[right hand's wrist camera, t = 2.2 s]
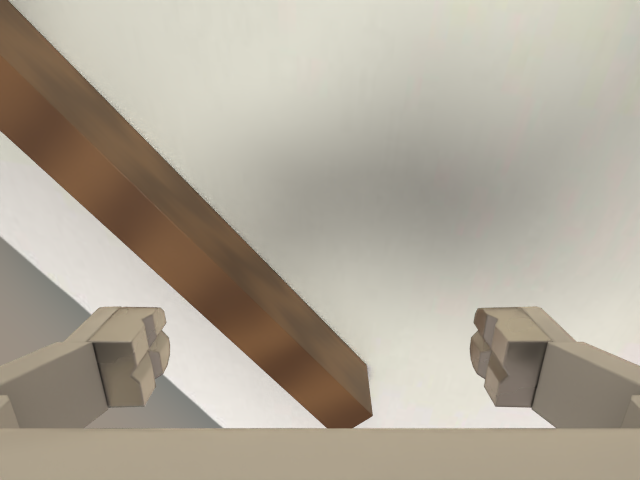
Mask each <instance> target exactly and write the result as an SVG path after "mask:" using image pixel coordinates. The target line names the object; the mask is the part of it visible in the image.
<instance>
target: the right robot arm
mask: <svg viewBox="0 0 640 480" xmlns="http://www.w3.org/2000/svg"><path fill="white" fill-rule="evenodd" d="M165 324H166V318H165V313H164V311H163V310H162V309H161V308H155V307H100V308H98V309H97V310H96V311H95V312H94V313H93V314H92V315H91V316H90V317H89V318H88V319H87V320H86V321H85V322H84V323H83V324H82V325H80V326H79V327H78V328H77V329H76V330H75V331H74V332H73V333H72V334H71V335H70V336H69V337H68V338H67V339H66V340H65V341H64V342H56V343H53V344H51V345H48V346H46V347H44V348H41V349H39V350H37V351H34V352H32V353H30V354H27V355H25V356H23V357H20V358H18V359H16V360H13V361H11V362H8V363H6V364H4V365H2V366H0V480H640V366H638V365H636V364H634V363H631V362H629V361H627V360H624V359H622V358H620V357H617V356H615V355H613V354H610V353H608V352H606V351H603V350H601V349H599V348H596V347H594V346H592V345H589V344H587V343H584V342H576V341H575V340H574V339H573V338H572V337H571V336H570V335H569V334H568V333H567V332H566V331H565V330H564V329H563V328H562V327H561V326H560V325H559V324H557V323H556V322H555V321H554V320H553V319H552V318H551V317H550V316H549V315H548V314H547V313H546V312H545V311H544V310H543V309H542V308H539V307H536V306H534V307H499V308H478V309H477V311H476V313H475V317H474V324H475V326H476V327H477V329H478V331H477V332H476V333H475V334H474V335H473V336H472V337H471V343H470V356H471V361H472V365H473V367H474V369H475V371H476V373H477V374H478V375H479V376H481V377H482V378H484V379H485V384H484V387H485V389H486V391H487V393H488V394H489V396H490V398H491V400H492V401H493V403H494V405H495V407H530V408H532V410H533V411H535V412H536V413H537V414H539V415H540V416H541V417H543V418H544V419H545V420H546V421H548V422H549V423H550V424H552V425H553V426H554V427H556V428H85V427H86V426H87V425H88V424H90V423H91V422H92V421H94V420H95V419H96V418H98V417H99V416H100V415H102V414H103V413H104V412H105V411H107V410H108V408H110V407H144V406H145V405H146V403H147V401H148V400H149V398H150V396H151V394H152V392H153V391H154V389H155V387H156V384H155V379H156V378H158V377H159V376H161V375H162V374H163V373H164V371H165V369H166V367H167V365H168V361H169V356H170V342H169V337H168V336H167V335H166V334H165V333H164V332H163V331H162V329H163V327H164V326H165Z"/></svg>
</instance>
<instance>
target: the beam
mask: <svg viewBox="0 0 640 480" xmlns="http://www.w3.org/2000/svg"><path fill="white" fill-rule="evenodd" d="M0 131H1V132H2V133H3V134H5V135H6V136H7V137H8V138H9V139H10V140H11V141H12V142H13V143H14V144H16V145H17V146H18V147H19V148H20V149H21V150H22V151H23V152H24V153H25V154H27V155H28V156H29V157H30V158H31V159H32V160H33V161H34V162H35V163H36V164H37V165H39V166H40V167H41V168H42V169H43V170H44V171H45V172H46V173H47V174H48V175H50V176H51V177H52V178H53V179H54V180H55V181H56V182H57V183H58V184H59V185H61V186H62V187H63V188H64V189H65V190H66V191H67V192H68V193H69V194H70V195H72V196H73V197H74V198H75V199H76V200H77V201H78V202H79V203H80V204H81V205H83V206H84V207H85V208H86V209H87V210H88V211H89V212H90V213H91V214H92V215H94V216H95V217H96V218H97V219H98V220H99V221H100V222H101V223H102V224H103V225H104V226H106V227H107V228H108V229H109V230H110V231H111V232H112V233H113V234H114V235H115V236H117V237H118V238H119V239H120V240H121V241H122V242H123V243H124V244H125V245H126V246H128V247H129V248H130V249H131V250H132V251H133V252H134V253H135V254H136V255H137V256H139V257H140V258H141V259H142V260H143V261H144V262H145V263H146V264H147V265H148V266H150V267H151V268H152V269H153V270H154V271H155V272H156V273H157V274H158V275H159V276H160V277H162V278H163V279H164V280H165V281H166V282H167V283H168V284H169V285H170V286H171V287H173V288H174V289H175V290H176V291H177V292H178V293H179V294H180V295H181V296H182V297H184V298H185V299H186V300H187V301H188V302H189V303H190V304H191V305H192V306H193V307H195V308H196V309H197V310H198V311H199V312H200V313H201V314H202V315H203V316H204V317H206V318H207V319H208V320H209V321H210V322H211V323H212V324H213V325H214V326H215V327H216V328H218V329H219V330H220V331H221V332H222V333H223V334H224V335H225V336H226V337H227V338H229V339H230V340H231V341H232V342H233V343H234V344H235V345H236V346H237V347H238V348H240V349H241V350H242V351H243V352H244V353H245V354H246V355H247V356H248V357H249V358H251V359H252V360H253V361H254V362H255V363H256V364H257V365H258V366H259V367H260V368H262V369H263V370H264V371H265V372H266V373H267V374H268V375H269V376H270V377H271V378H273V379H274V380H275V381H276V382H277V383H278V384H279V385H280V386H281V387H282V388H283V389H285V390H286V391H287V392H288V393H289V394H290V395H291V396H292V397H293V398H294V399H296V400H297V401H298V402H299V403H300V404H301V405H302V406H303V407H304V408H305V409H307V410H308V411H309V412H310V413H311V414H312V415H313V416H314V417H315V418H316V419H318V420H319V421H320V422H321V423H322V424H323V425H324V426H325V427H326V428H354V427H355V426H357V425H359V424H360V423H362V422H364V421H365V420H367V419H369V418H370V417H372V416H373V414H372V406H371V397H370V389H369V381H368V373H367V365H366V364H365V363H364V362H363V361H362V360H361V359H360V358H359V357H358V356H357V355H356V354H355V353H354V352H353V351H352V350H351V349H350V348H349V347H348V346H347V345H346V344H345V343H344V342H343V341H342V340H341V339H340V338H339V337H338V336H337V335H336V334H335V333H334V332H333V331H332V329H331V328H330V327H329V326H328V325H327V324H326V323H325V322H324V321H323V320H322V319H321V318H320V317H319V316H318V315H317V314H316V313H315V312H314V311H313V310H312V309H311V308H310V307H309V306H308V305H307V304H306V303H305V302H304V301H303V300H302V299H301V298H300V297H299V296H298V295H297V294H296V293H295V292H294V291H293V290H292V289H291V288H290V287H289V286H288V285H287V284H286V283H285V282H284V281H283V280H282V279H281V278H280V277H279V276H278V275H277V274H276V273H275V272H274V271H273V270H272V269H271V267H270V266H269V265H268V264H267V263H266V262H265V261H264V260H263V259H262V258H261V257H260V256H259V255H258V254H257V253H256V252H255V251H254V250H253V249H252V248H251V247H250V246H249V245H248V244H247V243H246V242H245V241H244V240H243V239H242V238H241V237H240V236H239V235H238V234H237V233H236V232H235V231H234V230H233V229H232V228H231V227H230V226H229V225H228V224H227V223H226V222H225V221H224V220H223V219H222V218H221V217H220V216H219V215H218V214H217V213H216V212H215V211H214V210H213V209H212V208H211V207H210V206H209V204H208V203H207V202H206V201H205V200H204V199H203V198H202V197H201V196H200V195H199V194H198V193H197V192H196V191H195V190H194V189H193V188H192V187H191V186H190V185H189V184H188V183H187V182H186V181H185V180H184V179H183V178H182V177H181V176H180V175H179V174H178V173H177V172H176V171H175V170H174V169H173V168H172V167H171V166H170V165H169V164H168V163H167V162H166V161H165V160H164V159H163V158H162V157H161V156H160V155H159V154H158V153H157V152H156V151H155V150H154V149H153V148H152V147H151V146H150V145H149V144H148V143H147V141H146V140H145V139H144V138H143V137H142V136H141V135H140V134H139V133H138V132H137V131H136V130H135V129H134V128H133V127H132V126H131V125H130V124H129V123H128V122H127V121H126V120H125V119H124V118H123V117H122V116H121V115H120V114H119V113H118V112H117V111H116V110H115V109H114V108H113V107H112V106H111V105H110V104H109V103H108V102H107V101H106V100H105V99H104V98H103V97H102V96H101V95H100V94H99V93H98V92H97V91H96V90H95V89H94V88H93V87H92V86H91V85H90V84H89V83H88V82H87V81H86V80H85V78H84V77H83V76H82V75H81V74H80V73H79V72H78V71H77V70H76V69H75V68H74V67H73V66H72V65H71V64H70V63H69V62H68V61H67V60H66V59H65V58H64V57H63V56H62V55H61V54H60V53H59V52H58V51H57V50H56V49H55V48H54V47H53V46H52V45H51V44H50V43H49V42H48V41H47V40H46V39H45V38H44V37H43V36H42V35H41V34H40V33H39V32H38V31H37V30H36V29H35V28H34V27H33V26H32V25H31V24H30V23H29V22H28V21H27V20H26V19H25V18H24V17H23V15H22V14H21V13H20V12H19V11H18V10H17V9H16V8H15V7H14V6H13V5H12V4H11V3H10V2H9V1H8V0H0Z"/></svg>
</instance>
